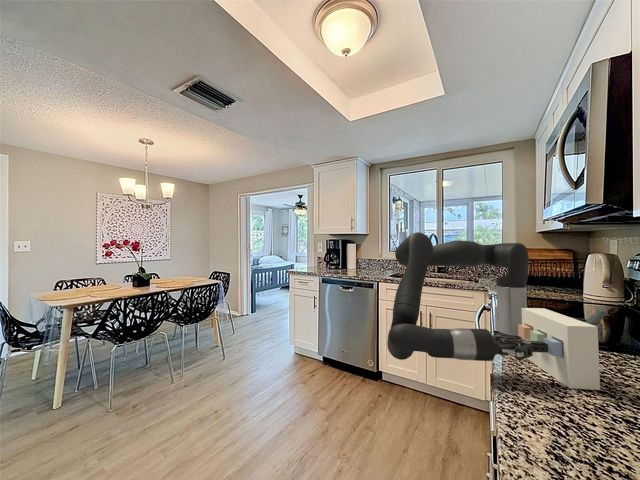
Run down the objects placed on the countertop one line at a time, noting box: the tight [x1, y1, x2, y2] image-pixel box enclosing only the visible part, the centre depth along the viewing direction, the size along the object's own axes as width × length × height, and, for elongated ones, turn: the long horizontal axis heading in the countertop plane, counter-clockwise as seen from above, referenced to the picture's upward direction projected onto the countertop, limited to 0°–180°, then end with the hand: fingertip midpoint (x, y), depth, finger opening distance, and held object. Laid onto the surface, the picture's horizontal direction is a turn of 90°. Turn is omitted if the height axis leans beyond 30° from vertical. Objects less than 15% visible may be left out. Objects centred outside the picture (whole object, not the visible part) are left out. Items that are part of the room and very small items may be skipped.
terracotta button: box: [517, 325, 532, 340], centre depth 79 cm, size 2×3×3 cm, turn 171°
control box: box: [522, 307, 601, 391], centre depth 72 cm, size 6×19×14 cm, turn 171°
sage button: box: [530, 331, 546, 342], centre depth 73 cm, size 2×3×3 cm, turn 171°
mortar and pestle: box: [573, 307, 609, 338], centre depth 92 cm, size 11×9×12 cm
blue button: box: [544, 338, 563, 356], centre depth 67 cm, size 2×3×3 cm, turn 170°
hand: (546, 346), depth 67 cm, fingers closed
